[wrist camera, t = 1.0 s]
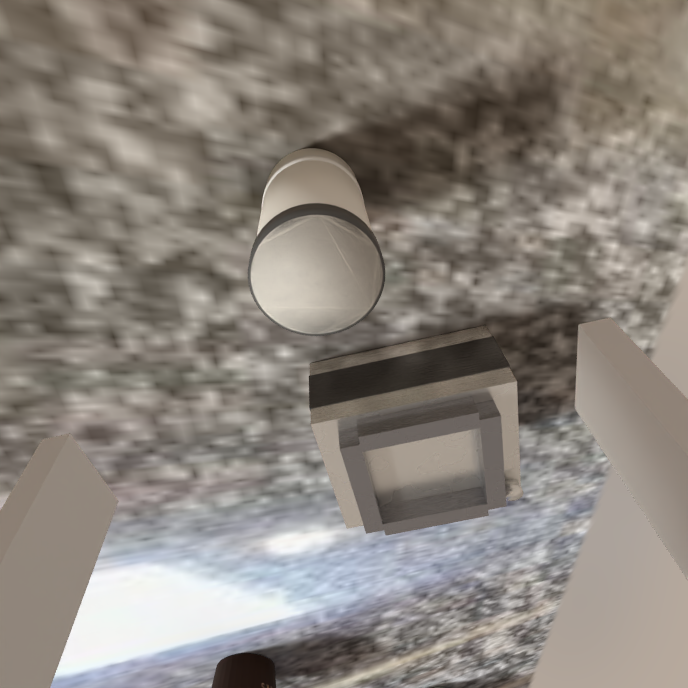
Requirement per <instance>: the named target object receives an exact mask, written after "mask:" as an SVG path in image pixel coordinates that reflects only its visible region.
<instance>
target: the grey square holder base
mask: <svg viewBox="0 0 688 688" xmlns="http://www.w3.org/2000/svg"><path fill="white" fill-rule="evenodd" d="M309 402H310V411H311V426H312V429H313V432H314V435H315V438H316V440H317V443H318V446H319V449H320V452H321V455H322V458H323V461H324V464H325V466H326V469H327V472H328V475H329V478H330V481H331V484H332V487H333V490H334V492H335V495H336V498H337V501H338V504H339V507H340V510H341V513H342V516H343V518H344V521H345V524H346V527H347V528H352V527H357V526H363V525H364V528H365V531H366V533H371V532H376V531H382V530H384V531H385V534H386V535H391V534H396V533H401V532H406V531H411V530H417V529H422V528H427V527H432V526H437V525H442V524H448V523H453V522H458V521H463V520H468V519H473V518H479V517H484V516H488V510H490V509H495V508H500V507H505V506H506V499H507V500H509V501H514V500H517V499H519V498H521V497H522V495H523V490H522V488H521V483H520V454H519V425H518V396H517V380H516V379H515V377H514V375H513V373H512V371H511V370H510V366H509V364H508V362H507V360H506V358H505V357H504V355H503V353H502V351H501V349H500V348H499V346H498V344H497V342H496V341H495V339H494V337H493V336H491V334H490V332H489V330H488V328H487V327H486V325H485V326H480V327H476V328H471V329H467V330H462V331H457V332H453V333H448V334H444V335H439V336H434V337H430V338H425V339H421V340H416V341H411V342H407V343H402V344H398V345H393V346H388V347H384V348H379V349H375V350H370V351H365V352H361V353H356V354H352V355H347V356H342V357H338V358H333V359H329V360H324V361H319V362H315V363H310V376H309Z"/></svg>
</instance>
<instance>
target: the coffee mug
mask: <svg viewBox="0 0 688 688" xmlns="http://www.w3.org/2000/svg"><path fill="white" fill-rule="evenodd" d="M212 688H276V680H275V666H274V663H273V662H272V660H270V659H269V658H267V657H265V656H262V655H258V654H251V653H242V654H235V655H231V656H228V657H226V658H224V659H222V660H221V661H220V662H219V663H218V665H217V667H216V672H215V676H214V680H213V684H212Z"/></svg>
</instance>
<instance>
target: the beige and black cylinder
mask: <svg viewBox="0 0 688 688" xmlns="http://www.w3.org/2000/svg"><path fill="white" fill-rule="evenodd" d="M248 281H249V287H250V291H251V294H252V296H253V299H254V301H255V302H256V304H257V306H258V307H259V309H260V310H261V311H262V312H263V313H264V315H265V316H267V317H268V318H269V319H270V320H271V321H272V322H274V323H275V324H277V325H278V326H280V327H282V328H284V329H286V330H288V331H291V332H294V333H297V334H302V335H308V336H324V335H331V334H335V333H339V332H342V331H344V330H347V329H349V328H351V327H352V326H354V325H356V324H357V323H359V322H360V321H362V320H363V319H364V318H365V317H366V316H367V315H368V314H369V313H370V312H371V311H372V310H373V308H374V307H375V305H376V304H377V302H378V300H379V298H380V296H381V294H382V291H383V287H384V282H385V266H384V261H383V257H382V253H381V250H380V247H379V244H378V242H377V239H376V237H375V236H374V234H373V232H372V229H371V226H370V222H369V219H368V216H367V212H366V209H365V205H364V199H363V196H362V192H361V189H360V186H359V184H358V182H357V179H356V177H355V174H354V173H353V171H352V169H351V168H350V167H349V165H348V164H347V163H346V162H345V161H344V160H343V159H342V158H340V157H339V156H337V155H336V154H334V153H332V152H329V151H327V150H323V149H317V148H306V149H300V150H297V151H294V152H292V153H290V154H288V155H287V156H285V157H284V158H282V159H281V160H280V161H279V162H278V163H277V164H276V165H275V167H274V168H273V170H272V171H271V173H270V175H269V177H268V180H267V184H266V187H265V191H264V195H263V200H262V211H261V216H260V222H259V227H258V232H257V238H256V240H255V242H254V244H253V248H252V251H251V256H250V261H249V267H248Z"/></svg>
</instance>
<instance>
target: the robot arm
mask: <svg viewBox="0 0 688 688" xmlns="http://www.w3.org/2000/svg"><path fill="white" fill-rule="evenodd" d="M575 409H576V411H577V412H578V414H579V415H580V417H581V418H582V420H583V421H584V423H585V424H586V426H587V428H588V429H589V431H590V432H591V434H592V435H593V437H594V438H595V440H596V441H597V443H598V444H599V446H600V447H601V449H602V450H603V452H604V453H605V455H606V457H607V458H608V460H609V461H610V463H611V464H612V466H613V467H614V469H615V470H616V472H617V473H618V475H619V476H620V478H621V479H622V481H623V482H624V484H625V485H626V487H627V489H628V490H629V491H630V493H631V495H632V496H633V498H634V499H635V501H636V502H637V504H638V505H639V507H640V508H641V510H642V511H643V513H644V515H645V516H646V518H647V519H648V521H649V522H650V524H651V525H652V526H653V528H654V530H655V531H656V533H657V534H658V536H659V537H660V539H661V540H662V542H663V543H664V545H665V547H666V548H667V550H668V551H669V553H670V554H671V556H672V557H673V559H674V560H675V562H676V563H677V565H678V566H679V568H680V569H681V571H682V573H683V574H684V575H685V577H686V579H687V580H688V399H687V398H686V397H685V396H684V395H683V394H682V393H681V391H679V389H678V388H677V387H676V386H675V385H674V384H673V383H672V382H671V381H670V380H669V379H668V378H667V377H666V376H665V375H664V374H663V373H662V372H661V370H660V369H659V368H658V367H657V366H656V365H655V364H654V363H653V362H652V361H651V360H650V359H649V358H648V357H647V356H646V355H645V354H644V352H643V351H642V350H641V349H640V348H639V347H638V346H637V345H636V344H635V343H634V342H633V341H632V340H631V339H630V338H629V337H628V336H627V335H626V334H625V332H624V331H623V330H622V329H621V328H620V327H619V326H618V325H617V324H616V323H615V322H614V321H613V320H612V319H611V318H606V319H602V320H597V321H592V322H588V323H583V324H578V346H577V368H576V391H575ZM117 504H118V500H117V498H116V497H115V495H114V494H113V493H112V491H111V490H110V488H109V487H108V486H107V484H106V483H105V481H104V480H103V479H102V477H101V476H100V475H99V473H98V472H97V470H96V469H95V468H94V466H93V465H92V463H91V462H90V461H89V459H88V458H87V456H86V455H85V454H84V452H83V451H82V450H81V448H80V447H79V445H78V444H77V443H76V441H75V440H74V438H73V437H72V436H71V434H65V435H61V436H56V437H51V438H47V439H42V441H41V443H40V444H39V446H38V448H37V449H36V451H35V453H34V454H33V456H32V458H31V460H30V461H29V463H28V465H27V466H26V468H25V470H24V471H23V473H22V475H21V477H20V478H19V480H18V482H17V483H16V485H15V487H14V488H13V490H12V492H11V494H10V495H9V497H8V499H7V500H6V502H5V504H4V505H3V507H2V509H1V511H0V688H50V686H51V683H52V681H53V678H54V675H55V672H56V670H57V667H58V664H59V662H60V659H61V656H62V653H63V651H64V648H65V645H66V642H67V640H68V637H69V634H70V632H71V629H72V626H73V623H74V621H75V618H76V615H77V613H78V610H79V607H80V604H81V602H82V599H83V596H84V593H85V591H86V588H87V585H88V583H89V580H90V577H91V574H92V572H93V569H94V566H95V563H96V561H97V558H98V555H99V553H100V550H101V547H102V544H103V542H104V539H105V536H106V533H107V531H108V528H109V525H110V523H111V520H112V517H113V514H114V512H115V509H116V506H117Z"/></svg>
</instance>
